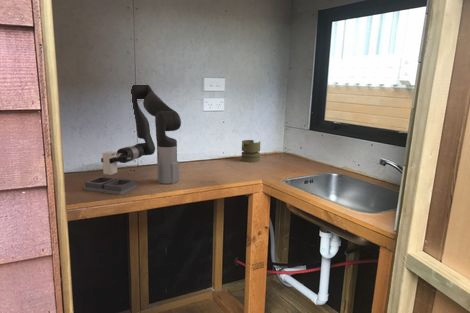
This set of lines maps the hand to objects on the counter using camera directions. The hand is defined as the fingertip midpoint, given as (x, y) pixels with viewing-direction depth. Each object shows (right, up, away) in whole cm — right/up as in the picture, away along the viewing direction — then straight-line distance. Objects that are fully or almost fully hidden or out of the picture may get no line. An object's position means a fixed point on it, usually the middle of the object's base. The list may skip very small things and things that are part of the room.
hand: (106, 160), depth 171 cm
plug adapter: (+1, -6, +4) cm, 7 cm away
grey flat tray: (+5, -12, -9) cm, 16 cm away
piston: (+70, -1, +56) cm, 89 cm away
